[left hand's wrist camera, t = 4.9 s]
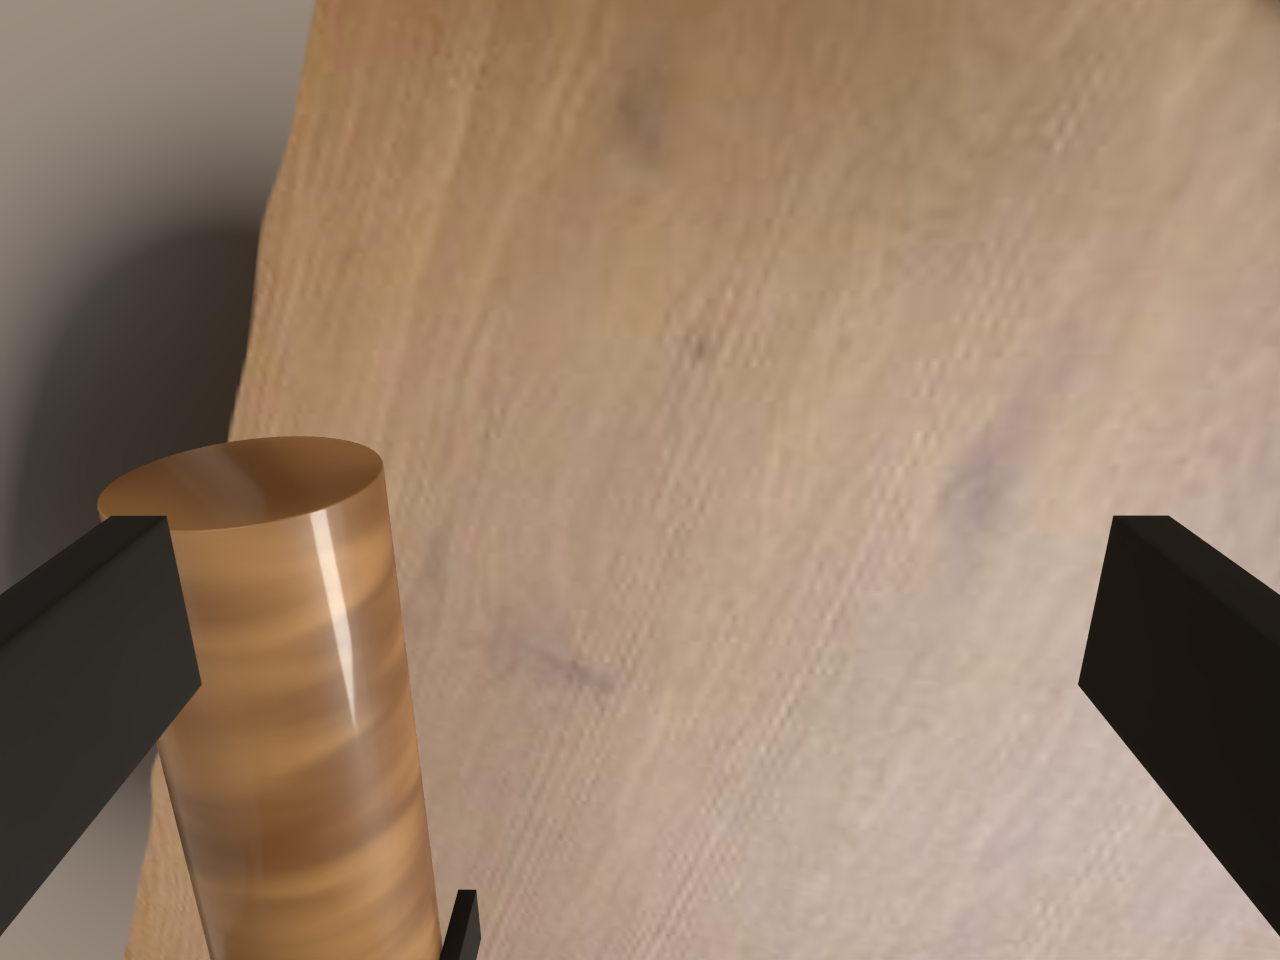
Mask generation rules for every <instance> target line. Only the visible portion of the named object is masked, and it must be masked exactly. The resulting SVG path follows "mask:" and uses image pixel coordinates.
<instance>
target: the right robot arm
mask: <svg viewBox="0 0 1280 960" xmlns="http://www.w3.org/2000/svg"><path fill="white" fill-rule="evenodd" d="M480 940H481V933H480V923H479V913H478V903H477V893H476V890H458V893H457V897H456V900H455V904H454V908H453V912H452V915H451V919H450V923H449V926H448V930H447V934H446V937H445V941H444V945H443V949H442V952H441V956H440V960H476V958H477V954H478V949H479V945H480Z"/></svg>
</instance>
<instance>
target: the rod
mask: <svg viewBox="0 0 1280 960" xmlns="http://www.w3.org/2000/svg"><path fill="white" fill-rule="evenodd" d="M97 507H98V512H99V516H100V520H101V523H102V522H103V521H105V520H106V519H107V518H109V517H110V516H167V520H168V525H169V530H170V534H171V539H172V544H173V549H174V553H175V558H176V563H177V568H178V573H179V577H180V582H181V587H182V592H183V596H184V601H185V606H186V611H187V616H188V620H189V625H190V630H191V635H192V639H193V644H194V649H195V654H196V659H197V663H198V668H199V673H200V678H201V682H202V685H201V687H200V688H199V689H198V690H197V691H196V693H195V694H194V695H193V696H192V698H191V699H190V700H189V701H188V703H187V704H186V705H185V706H184V708H183V709H182V710H181V711H180V713H179V714H178V715H177V716H176V718H175V719H174V720H173V721H172V723H171V724H170V725H169V726H168V728H167V729H166V730H165V731H164V733H163V734H162V735H161V736H160V738H159V739H158V740H157V741H156V743H157V747H158V751H159V755H160V759H161V763H162V767H163V771H164V775H165V779H166V783H167V787H168V791H169V795H170V799H171V803H172V807H173V811H174V815H175V819H176V823H177V827H178V831H179V835H180V839H181V843H182V847H183V851H184V855H185V859H186V863H187V867H188V871H189V875H190V879H191V883H192V887H193V891H194V895H195V899H196V903H197V907H198V911H199V915H200V919H201V923H202V927H203V931H204V935H205V939H206V943H207V947H208V951H209V955H210V959H211V960H440V956H441V952H442V949H443V947H442V939H441V931H440V923H439V915H438V906H437V898H436V890H435V882H434V874H433V866H432V858H431V849H430V841H429V833H428V825H427V817H426V809H425V801H424V792H423V784H422V776H421V768H420V760H419V752H418V744H417V735H416V727H415V719H414V711H413V703H412V695H411V686H410V678H409V670H408V662H407V654H406V646H405V638H404V629H403V621H402V613H401V605H400V597H399V589H398V581H397V572H396V564H395V556H394V548H393V540H392V532H391V523H390V515H389V507H388V499H387V491H386V483H385V475H384V466H383V461H382V459H381V458H380V456H379V455H378V454H377V453H376V452H375V451H374V450H372V449H370V448H368V447H366V446H363V445H361V444H358V443H354V442H350V441H346V440H340V439H333V438H324V437H302V436H293V437H270V438H258V439H249V440H241V441H234V442H228V443H222V444H217V445H211V446H206V447H202V448H197V449H194V450H189V451H185V452H182V453H178V454H175V455H171V456H168V457H165V458H162V459H159V460H156V461H154V462H151V463H149V464H146V465H143V466H141V467H139V468H137V469H135V470H133V471H130V472H128V473H127V474H125V475H123V476H121V477H119V478H118V479H117V480H115V481H114V482H112V483H111V484H110V485H109V486H108V487H107V488H105V489H104V490H103V492H102V493H101V495H100V496H99V499H98V503H97Z"/></svg>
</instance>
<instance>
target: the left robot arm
mask: <svg viewBox="0 0 1280 960" xmlns="http://www.w3.org/2000/svg"><path fill="white" fill-rule="evenodd" d="M201 685H202V682H201V678H200V673H199V668H198V663H197V659H196V654H195V649H194V644H193V639H192V635H191V630H190V625H189V620H188V616H187V611H186V606H185V601H184V596H183V592H182V587H181V582H180V577H179V573H178V568H177V563H176V558H175V553H174V549H173V544H172V539H171V534H170V530H169V525H168V520H167V516H110V517H109V518H107V519H106V520H105V521H103V522H102V523H100V524H99V525H98V526H96V527H95V528H93V529H92V530H91V531H89V532H88V533H86V534H85V535H84V536H82V537H81V538H79V539H78V540H77V541H75V542H74V543H72V544H71V545H70V546H68V547H67V548H65V549H64V550H63V551H61V552H60V553H58V554H57V555H55V556H54V557H53V558H51V559H50V560H48V561H47V562H46V563H44V564H43V565H41V566H40V567H39V568H37V569H36V570H35V571H33V572H32V573H30V574H29V575H27V576H26V577H25V578H23V579H22V580H21V581H19V582H18V583H16V584H15V585H14V586H12V587H11V588H9V589H8V590H6V591H5V592H4V593H2V594H1V595H0V936H1V935H2V934H3V932H4V931H5V930H6V929H7V927H8V926H9V925H10V924H11V922H12V921H13V920H14V919H15V917H16V916H17V915H18V914H19V912H20V911H21V910H22V909H23V907H24V906H25V905H26V903H27V902H28V901H29V900H30V899H31V897H32V896H33V895H34V894H35V892H36V891H37V890H38V889H39V887H40V886H41V885H42V884H43V882H44V881H45V880H46V879H47V877H48V876H49V875H50V874H51V872H52V871H53V870H54V869H55V867H56V866H57V865H58V864H59V862H60V861H61V860H62V859H63V857H64V856H65V855H66V854H67V852H68V851H69V850H70V849H71V847H72V846H73V845H74V844H75V842H76V841H77V840H78V839H79V837H80V836H81V835H82V834H83V832H84V831H85V830H86V829H87V827H88V826H89V825H90V824H91V822H92V821H93V820H94V819H95V817H96V816H97V815H98V814H99V812H100V811H101V810H102V809H103V808H104V806H105V805H106V804H107V802H108V801H109V800H110V799H111V797H112V796H113V795H114V794H115V793H116V791H117V790H118V789H119V788H120V786H121V785H122V784H123V783H124V781H125V780H126V779H127V778H128V776H129V775H130V774H131V773H132V771H133V770H134V769H135V768H136V766H137V765H138V764H139V763H140V761H141V760H142V759H143V758H144V756H145V755H146V754H147V753H148V751H149V750H150V749H151V748H152V746H153V745H154V744H155V743H156V741H157V740H158V739H159V738H160V736H161V735H162V734H163V733H164V731H165V730H166V729H167V728H168V726H169V725H170V724H171V723H172V721H173V720H174V719H175V718H176V716H177V715H178V714H179V713H180V711H181V710H182V709H183V708H184V706H185V705H186V704H187V703H188V701H189V700H190V699H191V698H192V696H193V695H194V694H195V693H196V691H197V690H198V689H199V688H200V687H201ZM1078 685H1079V687H1080V688H1081V689H1082V690H1083V691H1084V693H1085V694H1086V695H1087V696H1088V698H1089V699H1090V700H1091V701H1092V703H1093V704H1094V705H1095V706H1096V708H1097V709H1098V710H1099V711H1100V713H1101V714H1102V715H1103V716H1104V718H1105V719H1106V720H1107V721H1108V723H1109V724H1110V725H1111V726H1112V728H1113V729H1114V730H1115V731H1116V733H1117V734H1118V735H1119V736H1120V738H1121V739H1122V740H1123V741H1124V743H1125V744H1126V745H1127V746H1128V748H1129V749H1130V750H1131V751H1132V753H1133V754H1134V755H1135V756H1136V758H1137V759H1138V760H1139V761H1140V763H1141V764H1142V765H1143V766H1144V768H1145V769H1146V770H1147V771H1148V773H1149V774H1150V775H1151V776H1152V778H1153V779H1154V780H1155V781H1156V783H1157V784H1158V785H1159V786H1160V788H1161V789H1162V790H1163V791H1164V793H1165V794H1166V795H1167V796H1168V798H1169V799H1170V800H1171V801H1172V803H1173V804H1174V805H1175V806H1176V808H1177V809H1178V810H1179V811H1180V813H1181V814H1182V815H1183V816H1184V817H1185V819H1186V820H1187V821H1188V822H1189V824H1190V825H1191V826H1192V827H1193V829H1194V830H1195V831H1196V832H1197V834H1198V835H1199V836H1200V837H1201V839H1202V840H1203V841H1204V842H1205V844H1206V845H1207V846H1208V847H1209V849H1210V850H1211V851H1212V852H1213V854H1214V855H1215V856H1216V857H1217V859H1218V860H1219V861H1220V862H1221V864H1222V865H1223V866H1224V867H1225V869H1226V870H1227V871H1228V872H1229V874H1230V875H1231V876H1232V877H1233V879H1234V880H1235V881H1236V882H1237V884H1238V885H1239V886H1240V887H1241V889H1242V890H1243V891H1244V892H1245V894H1246V895H1247V896H1248V897H1249V899H1250V900H1251V901H1252V902H1253V904H1254V905H1255V906H1256V907H1257V909H1258V910H1259V911H1260V912H1261V914H1262V915H1263V916H1264V917H1265V919H1266V920H1267V921H1268V922H1269V924H1270V925H1271V926H1272V927H1273V929H1274V930H1275V931H1276V932H1277V934H1278V935H1279V936H1280V595H1279V594H1278V593H1276V592H1275V591H1274V590H1272V589H1271V588H1269V587H1268V586H1267V585H1265V584H1264V583H1262V582H1261V581H1260V580H1258V579H1257V578H1255V577H1254V576H1253V575H1251V574H1250V573H1248V572H1247V571H1246V570H1244V569H1243V568H1241V567H1240V566H1239V565H1237V564H1236V563H1234V562H1233V561H1232V560H1230V559H1229V558H1227V557H1226V556H1224V555H1223V554H1222V553H1220V552H1219V551H1217V550H1216V549H1215V548H1213V547H1212V546H1210V545H1209V544H1208V543H1206V542H1205V541H1203V540H1202V539H1201V538H1199V537H1198V536H1196V535H1195V534H1194V533H1192V532H1191V531H1189V530H1188V529H1187V528H1185V527H1184V526H1182V525H1181V524H1180V523H1178V522H1177V521H1175V520H1174V519H1173V518H1171V517H1170V516H1113V520H1112V525H1111V530H1110V534H1109V539H1108V544H1107V549H1106V553H1105V558H1104V563H1103V568H1102V573H1101V577H1100V582H1099V587H1098V592H1097V596H1096V601H1095V606H1094V611H1093V616H1092V620H1091V625H1090V630H1089V635H1088V639H1087V644H1086V649H1085V654H1084V659H1083V663H1082V668H1081V673H1080V678H1079V682H1078Z"/></svg>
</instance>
